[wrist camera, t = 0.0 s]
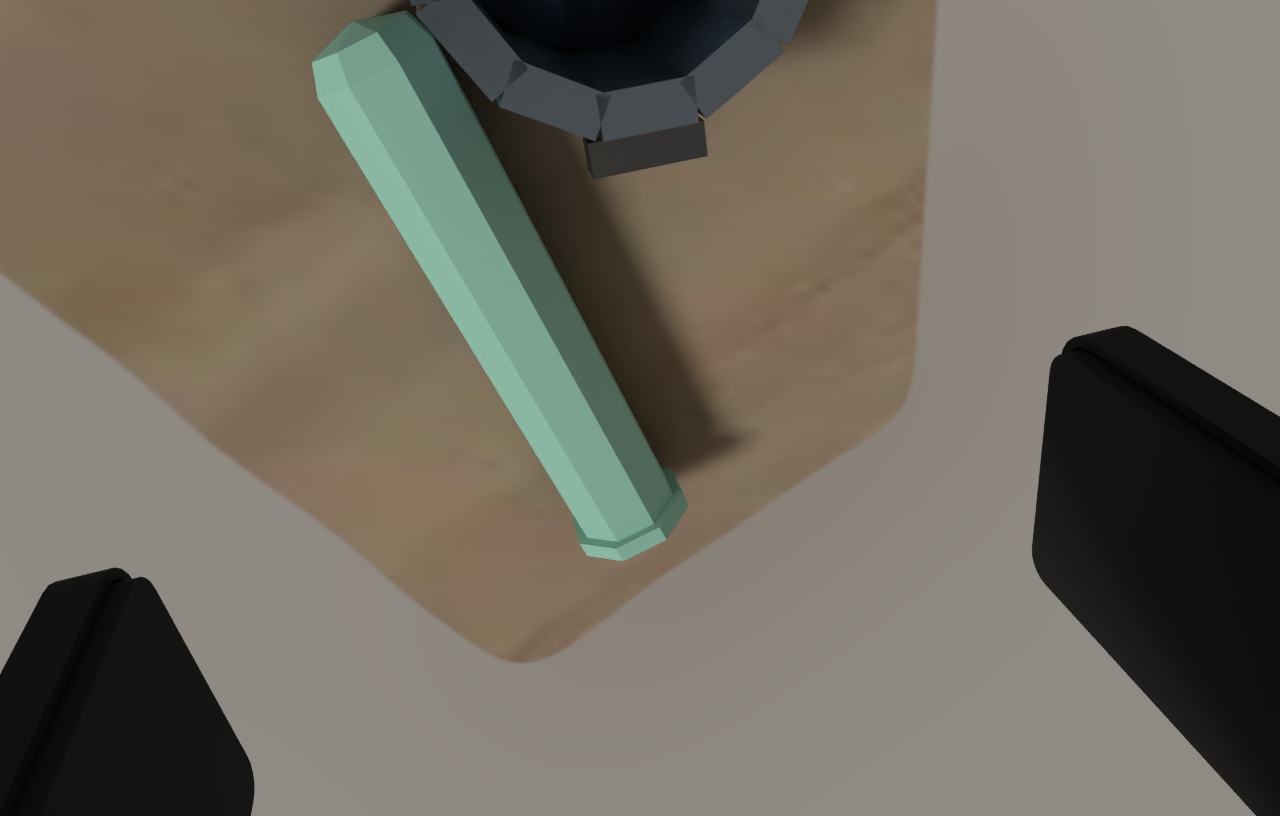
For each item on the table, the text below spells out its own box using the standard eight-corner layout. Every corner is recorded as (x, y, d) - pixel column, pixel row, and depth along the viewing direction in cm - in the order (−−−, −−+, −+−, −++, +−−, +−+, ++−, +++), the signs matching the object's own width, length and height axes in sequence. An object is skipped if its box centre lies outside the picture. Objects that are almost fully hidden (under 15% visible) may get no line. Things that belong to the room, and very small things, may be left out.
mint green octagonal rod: (299, 57, 29) (618, 580, 42) (449, -26, 31) (712, 500, 44) (262, 64, 34) (559, 532, 47) (394, -8, 36) (646, 462, 49)
